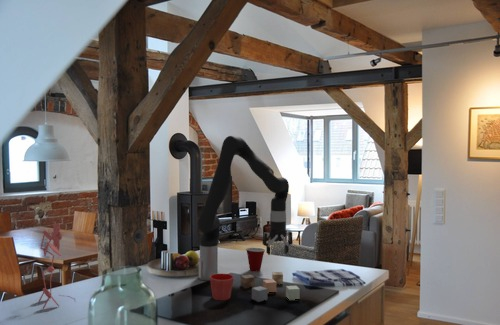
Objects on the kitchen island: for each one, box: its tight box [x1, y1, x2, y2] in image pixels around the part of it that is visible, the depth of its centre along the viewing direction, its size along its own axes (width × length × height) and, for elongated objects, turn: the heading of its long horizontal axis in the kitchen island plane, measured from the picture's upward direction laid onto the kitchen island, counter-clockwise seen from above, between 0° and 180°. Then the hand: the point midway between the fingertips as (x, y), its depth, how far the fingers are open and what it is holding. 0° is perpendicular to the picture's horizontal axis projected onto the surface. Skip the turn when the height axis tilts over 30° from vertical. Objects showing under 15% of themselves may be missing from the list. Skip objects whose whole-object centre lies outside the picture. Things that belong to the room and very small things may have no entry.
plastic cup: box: [245, 247, 266, 272], centre depth 263 cm, size 11×11×12 cm
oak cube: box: [271, 271, 284, 286], centre depth 239 cm, size 5×5×5 cm
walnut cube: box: [240, 274, 256, 289], centre depth 233 cm, size 5×5×5 cm
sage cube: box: [285, 285, 301, 301], centre depth 215 cm, size 5×5×5 cm
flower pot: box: [209, 273, 234, 301], centre depth 215 cm, size 11×11×10 cm
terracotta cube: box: [262, 278, 277, 294], centre depth 225 cm, size 5×5×5 cm
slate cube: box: [251, 285, 268, 303], centre depth 213 cm, size 5×5×5 cm
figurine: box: [38, 221, 75, 313], centre depth 205 cm, size 15×26×35 cm, turn 35°
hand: (277, 253), depth 226 cm, fingers open, 8 cm apart
